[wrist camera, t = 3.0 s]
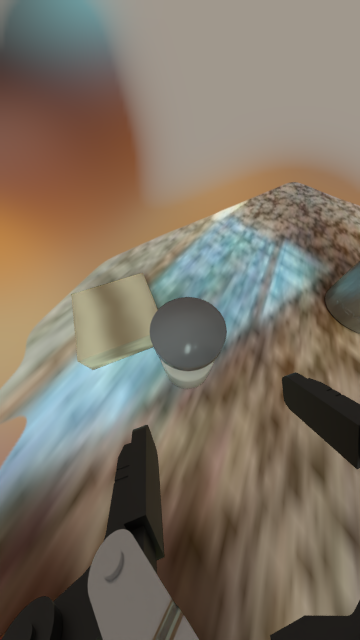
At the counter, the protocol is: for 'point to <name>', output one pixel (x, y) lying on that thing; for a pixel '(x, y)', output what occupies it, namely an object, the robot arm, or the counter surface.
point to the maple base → (113, 321)
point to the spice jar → (187, 339)
